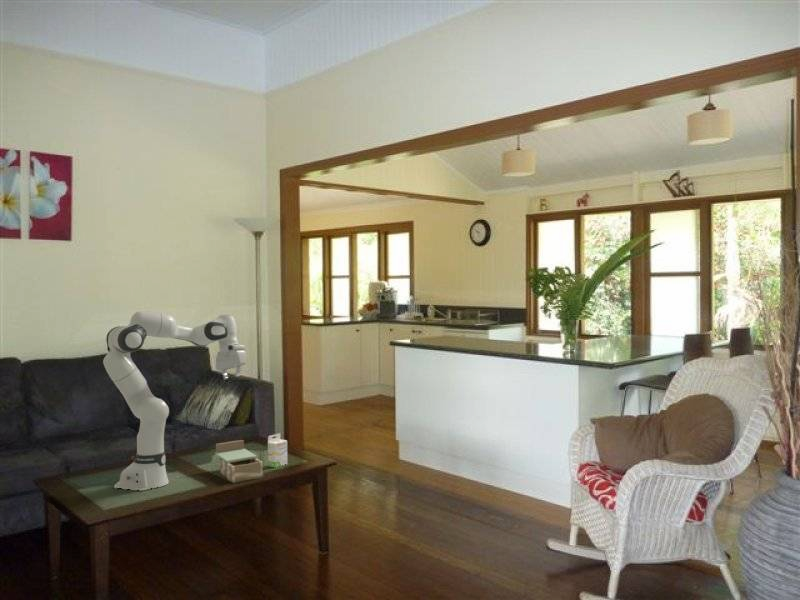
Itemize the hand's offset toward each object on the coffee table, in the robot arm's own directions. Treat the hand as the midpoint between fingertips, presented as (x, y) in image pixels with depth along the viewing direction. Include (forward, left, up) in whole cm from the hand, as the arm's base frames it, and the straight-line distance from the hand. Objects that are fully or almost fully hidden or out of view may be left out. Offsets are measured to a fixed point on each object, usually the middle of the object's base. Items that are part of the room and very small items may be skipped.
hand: (231, 377), depth 309 cm
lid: (+3, -5, -36) cm, 37 cm away
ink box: (+19, +7, -44) cm, 48 cm away
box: (+7, -10, -43) cm, 45 cm away
